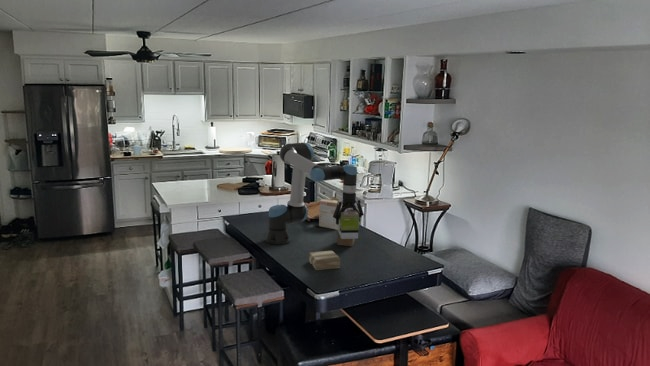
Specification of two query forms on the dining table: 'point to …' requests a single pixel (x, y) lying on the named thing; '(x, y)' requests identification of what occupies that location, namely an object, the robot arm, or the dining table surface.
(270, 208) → the robot arm
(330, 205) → the coffeecake box
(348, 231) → the tea box
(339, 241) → the wooden block
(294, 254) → the dining table surface
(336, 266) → the birch plinth
